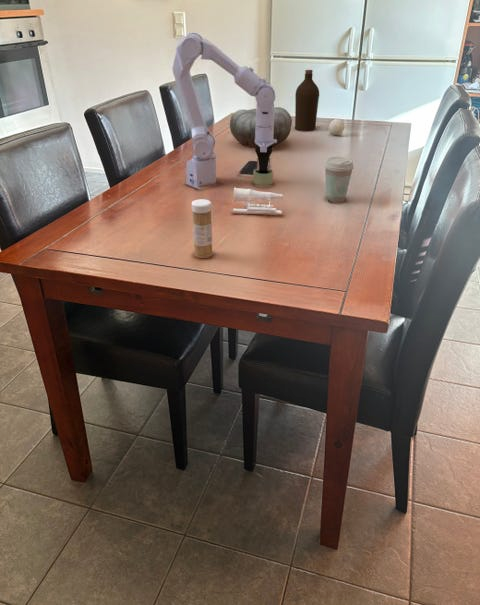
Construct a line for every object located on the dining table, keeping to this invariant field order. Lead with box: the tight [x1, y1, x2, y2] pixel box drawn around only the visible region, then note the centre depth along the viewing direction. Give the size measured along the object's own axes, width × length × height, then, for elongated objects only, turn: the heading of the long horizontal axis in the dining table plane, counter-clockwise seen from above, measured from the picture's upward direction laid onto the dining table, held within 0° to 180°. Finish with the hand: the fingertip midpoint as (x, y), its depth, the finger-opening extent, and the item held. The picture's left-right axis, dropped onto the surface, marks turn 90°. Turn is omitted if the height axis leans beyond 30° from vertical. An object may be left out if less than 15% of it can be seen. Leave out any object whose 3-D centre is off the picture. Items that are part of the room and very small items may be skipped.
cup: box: [252, 168, 274, 186], centre depth 167 cm, size 6×6×4 cm
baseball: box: [328, 118, 345, 136], centre depth 224 cm, size 7×7×7 cm
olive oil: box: [294, 69, 320, 132], centre depth 229 cm, size 11×11×25 cm
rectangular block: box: [256, 157, 271, 174], centre depth 166 cm, size 2×4×8 cm, turn 86°
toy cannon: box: [232, 187, 284, 217], centre depth 146 cm, size 8×14×5 cm
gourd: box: [229, 106, 293, 147], centre depth 207 cm, size 25×25×17 cm
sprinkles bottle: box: [191, 198, 214, 259], centre depth 120 cm, size 5×5×14 cm
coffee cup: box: [323, 156, 355, 204], centre depth 153 cm, size 8×9×12 cm
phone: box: [239, 160, 257, 176], centre depth 181 cm, size 8×1×15 cm
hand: (263, 168), depth 165 cm, fingers closed on rectangular block, 2 cm apart
